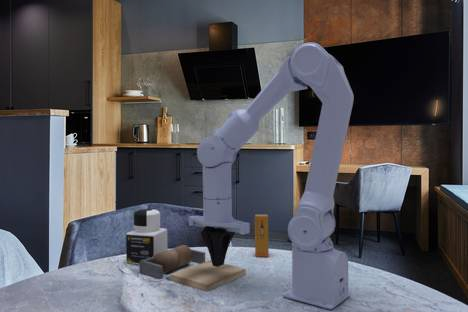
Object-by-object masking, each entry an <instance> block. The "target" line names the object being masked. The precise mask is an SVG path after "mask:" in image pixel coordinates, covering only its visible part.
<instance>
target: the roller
mask: <svg viewBox="0 0 468 312" xmlns="http://www.w3.org/2000/svg"><path fill="white" fill-rule="evenodd" d="M191 249H192V248H190V247H189V246H188V245H186V244H181V245H179V246H175V247H173V248H170V249H167V250H166V251H163V252H160V253H157V254H156V255H155V256H154V259H153V263H155V264H158V265H162V266H163V275H164V274H166V273H169V272H172V271H174V270H177V269H178V268H182V267H184V266H187V265H189V264H190V263H191V262H193V261H192V257H193V255H192V251H191Z"/></svg>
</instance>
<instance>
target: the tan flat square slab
mask: <svg viewBox="0 0 468 312" xmlns="http://www.w3.org/2000/svg"><path fill="white" fill-rule="evenodd" d="M246 273H247V270H246V268H243V267H239V266H236V265H235V266H234V265H231V264H226V263H224V265H221V266H219V267H216V266H213V265H212V261H211V260H207V261H205V262H204V263H198V264H196V265H192V266H189V267H187V268H185V269H182V270H179V271H176V272H173V273H170V275H169V276H166V277H165V279H166V280H169V281H172V282H175V283H179V284H181V285H184V286H188V287H192V288H195V289H197V290H198V289H199V290H201V291H204V292H208V291H211V290H214V289H215V288H218V287H221V286H224V285H225V284H228V283H230V282H232V281H234V280H237V279H238V278H241V277H243V276H246V275H247V274H246Z"/></svg>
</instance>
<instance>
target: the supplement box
mask: <svg viewBox="0 0 468 312" xmlns="http://www.w3.org/2000/svg"><path fill="white" fill-rule="evenodd" d="M254 243H255V245H254V246H255V247H254V248H255V249H254V252H255V253H254V255H255V257H257V258H259V257H260V258H261V257H262V258H263V257H264V258H268V257H269V252H270V251H269V247H270V246H269V216H268V214H267V213H266V214H255V216H254Z"/></svg>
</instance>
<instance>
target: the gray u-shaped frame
mask: <svg viewBox="0 0 468 312" xmlns="http://www.w3.org/2000/svg"><path fill="white" fill-rule="evenodd" d="M190 249H191V251H192V255H193V257H192V261H191V262H193V263H198V264H201V263H204V262H206V251H205V252H204V251H201V250H197V249H192V248H190ZM153 259H154V257H151V258H148V259H144V260H141V261H139V264H138V265H139V274H143V275H146V276H149V277H152V278H155V279H159V280H160V279H164V274H163V266H162V265H158V264H155V263H153Z"/></svg>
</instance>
